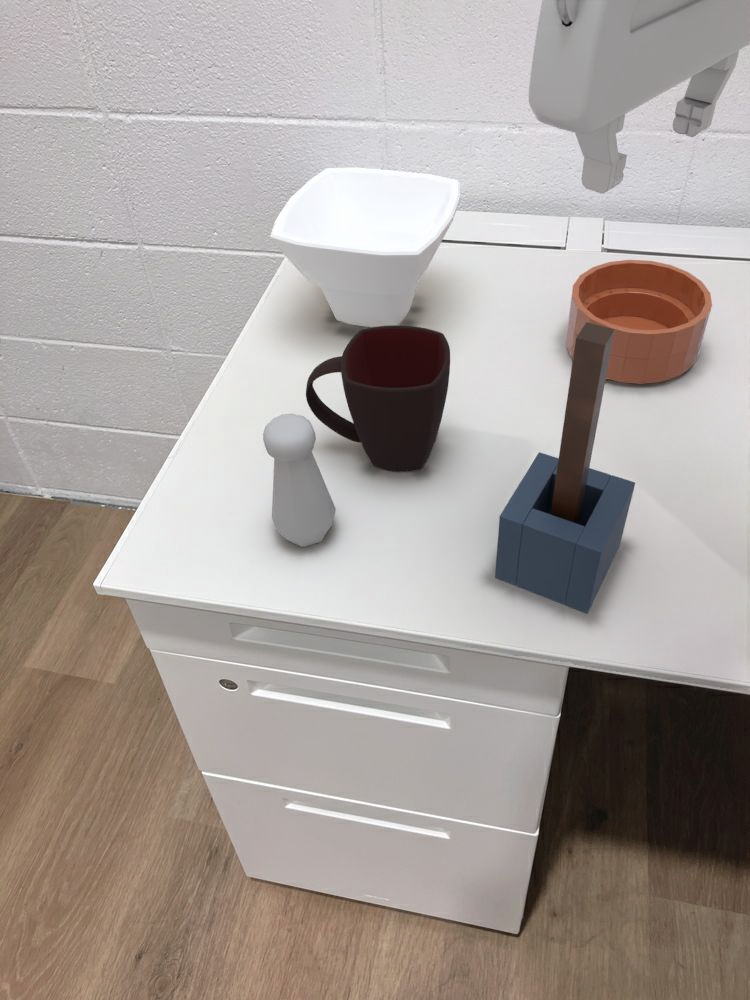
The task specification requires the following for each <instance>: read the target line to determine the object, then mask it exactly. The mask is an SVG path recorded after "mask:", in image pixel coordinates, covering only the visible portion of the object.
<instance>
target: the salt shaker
mask: <svg viewBox="0 0 750 1000" xmlns="http://www.w3.org/2000/svg"><path fill="white" fill-rule="evenodd" d="M316 439H317V436H316V432H315V429H314V427H313V424H312V422H311V420H309V419H308V418H306V417H305V416H303V415H300V414H295V413H285V414H280V415H278V416H276V417H274V418H272V419H271V420H270V421H269V422H268V423H267V424H266V425H265V426H264V429H263V433H262V441H263V444H264V447H265V450H266V453H267V454H268V455H269V456H270V457H271V458H273V477H272V479H273V481H272V498H271V499H272V500H271V519H272V522H273V524H274V528H275V529H276V531H277V532H278V533H279V534H280V536H282V537H283V538H284V539H285V540H286V541H288V542H290V543H292V544H294V545H296V546H299V547H301V548H306V547H310V546H312V545H316V544H319V543H322V542H323V540H324V538H325V536H326V534H327V533H328V531H329V530H330V528H331V527H332V525H333V524H334V521H335V516H336V506H335V504H334V502H333V499H332V496H331V494H330V492H329V489H328V487H327V484H326V481H325V480H324V477H323V475H322V473H321V470H320V468H319V466H318V462H317V460H316V458H315V456H314V454H313V450H314V448H315V445H316V444H315V443H316Z"/></svg>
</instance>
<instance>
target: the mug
mask: <svg viewBox="0 0 750 1000" xmlns="http://www.w3.org/2000/svg"><path fill="white" fill-rule="evenodd" d="M447 339H448V338H446V336H445V334H444V333H442V332H439V331H437V330H435V329H431V328H427V327H421V326H415V325H401V324H399V325H391V326H378V327H366V328H362V329H360V330H359V331H358V332H356V334H354V336H353V337H352V338H351V339H349V342H348V343H347V344H346V346H345V347H344V349H343V352H342V355H340V356H334V357H331V358H328V359H326V360H324V361H322V362H321V363H319V364H317V366H315V367H314V369H313V370H312V371H311V373H310V374H309V376H308V378H307V381H306V388H305V399H306V402H307V405H308V407H309V409H310V410H311V412H312V414H313V415H314V416H315V418H316V419H318V420H319V421H320V422H321V423H322V424H323V425H324V426H326V428H328V429H330V430H331V431H333V432H334V433H336V434H338V435H339V436H341V437H343V438H344V439H347V440H349V441H351V442H354V443H358V444H361V446H362V448H363V451H364V452H365V454H366V456H367V458H368V459H369V461H370V463H371V464H372V466H373V467H375V468H377V469H380V470H383V471H387V472H394V473H395V472H396V473H407V472H415V471H420V470H422V468H424V466H425V465H426V463H427V462H428V460H429V458H430V455H431V453H432V450H433V448H434V446H435V443H436V441H437V437H438V433H439V431H440V427H441V423H442V420H443V419H442V418H443V414H444V411H445V410H444V409H445V405H446V400H447V395H448V391H449V384H450V383H449V381H450V373H451V372H450V371H451V349H450V345H449V342H448V340H447ZM335 373H341V374H340V375H341V381H342V386H343V392H344V397H345V400H346V404H347V407H348V411H349V414H350V416H351V419H352V420H351V421H350V420H348V419H346V418H345V417H342V415H340V414H338V413H336V412H335V411H334V410H333V409H331V408H330V407H329V406H328V405H327V404H326V403H324V402H323V400H322V399H321V398H320V397H319V395H318V393H317V392H316V390H315V388H314V382H315V380H317V379H318V378H321V377H323V376H325V375H329V374H335Z"/></svg>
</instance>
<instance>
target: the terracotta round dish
mask: <svg viewBox="0 0 750 1000" xmlns="http://www.w3.org/2000/svg"><path fill="white" fill-rule="evenodd" d="M712 307H713V302H712V293H711V291H710V290H709V288H707V286H706V285H705V284H704V282H703V281H702V280H700V279H699V278H697V277H696V276H695V275H693V274H691V272H688V271H686V270H685V269H682V268H680V267H677V266H675V265H672V264H668V263H665V262H664V263H663V262H658V261H653V260H645V259H644V260H643V259H622V260H614V261H608V262H604V263H601V264H599V265H595V266H592V267H591V268H589V269H588V270H586V271H584V272H583V273H581V274H579V276H578V277H577V279H576V280H575V282H574V283H573V284H572V288H571V297H570V303H569V312H568V318H567V319H568V320H567V326H566V335H565V346H566V348H567V350H568V353H569V355H570V357H571V358H572V359H573V356H574V349H575V342H576V337H577V336H578V334H579V333H580V331H581V330H582V328H583V326H584V325H585V323H586V322H588V323H592V324H596V325H600V326H604V327H608V328H612V329H615V332H614V337H613V343H612V348H611V353H610V359H609V364H608V370H607V375H606V380H612V381H615V382H619V383H626V384H627V383H628V384H641V385H644V384H653V383H661V382H666V381H668V380H671V379H674V378H677V377H680V376H681V375H683V374H684V373H685V372H686V371H688V370H689V369H690V368H692V367H693V366H694V364H695V362H696V360H697V358H698V357H699V353H700V349H701V346H702V344H703V343H702V342H703V338H704V335H705V331H706V328H707V325H708V321H709V317H710V314H711V312H712V311H711V310H712Z"/></svg>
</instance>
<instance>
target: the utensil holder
mask: <svg viewBox="0 0 750 1000" xmlns="http://www.w3.org/2000/svg"><path fill="white" fill-rule="evenodd" d="M558 459H559V457H556V456H552V455H550V454H547V453H543V452H541V451H539V452H538V453H537V455H535V458H534V459H533V461H532V463H531V464H530V466H529V467H528V469H527V471H526V472H525V474H524V476H523V477H522V479H521V480H520V482H519V484H518V486H517V487H516V489H515V490H514V492H513V493H512V495H511V496H510V498H509V500H508V502H507V503H506V505H505V506H504V508H503V510H502V511H501V513H500V515H499V521H498V530H497V531H498V532H497V547H496V558H495V559H496V560H495V570H494V571H495V572H494V578H495V579H496V580H497V579H498V580H500V581H503V582H505V583H508V584H509V585H513V586H516V587H518V588H521V589H523V590H525V591H528V592H530V593H533V594H536V595H538V596H540V597H543V598H546V599H548V600H551V601H554V602H556V603H559V604H562V605H564V606H566V607H568V608H571V609H574V610H576V611H579V612H581V613H584V614H589V613H590V610H591V609H592V606H593V604H594V601H595V599H596V597H597V595H598V593H599V591H600V589H601V586H602V584H603V582H604V580H605V578H606V576H607V573H608V571H609V570H610V567H611V565H612V564H613V561H614V559H615V557H616V554H617V553H618V551H619V548H620V547H621V546H620V545H621V542H622V539H623V535H624V531H625V526H626V522H627V519H628V514H629V510H630V506H631V502H632V498H633V495H634V494H633V493H634V490H635V485H636V482H635V481H632V480H628V479H626V478H623V477H619V476H616V475H613V474H612V475H611V474H610V473H607V472H603V471H600V470H597V469H594V468H591V467H589V472H588V478H587V483H586V489H585V494H584V499H583V505H582V510H581V516H580V521H579V524H576V523H573V522H571V521H568V520H565V519H562V518H559V517H556V516H553V515H550V514H551V508H552V501H553V494H554V487H555V480H556V473H557V466H558Z"/></svg>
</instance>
